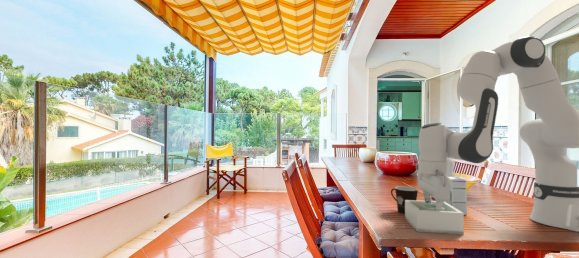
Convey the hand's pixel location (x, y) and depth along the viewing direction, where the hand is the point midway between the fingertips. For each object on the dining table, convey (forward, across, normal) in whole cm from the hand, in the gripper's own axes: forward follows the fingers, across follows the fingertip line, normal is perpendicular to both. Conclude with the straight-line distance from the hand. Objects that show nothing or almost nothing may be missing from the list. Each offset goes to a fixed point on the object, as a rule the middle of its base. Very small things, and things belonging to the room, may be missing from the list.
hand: (432, 207), depth 96 cm
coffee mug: (+7, +16, +5) cm, 18 cm away
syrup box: (+7, +18, -16) cm, 25 cm away
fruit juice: (+7, +29, -15) cm, 33 cm away
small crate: (+6, 0, 0) cm, 6 cm away
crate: (+7, 0, 0) cm, 7 cm away
